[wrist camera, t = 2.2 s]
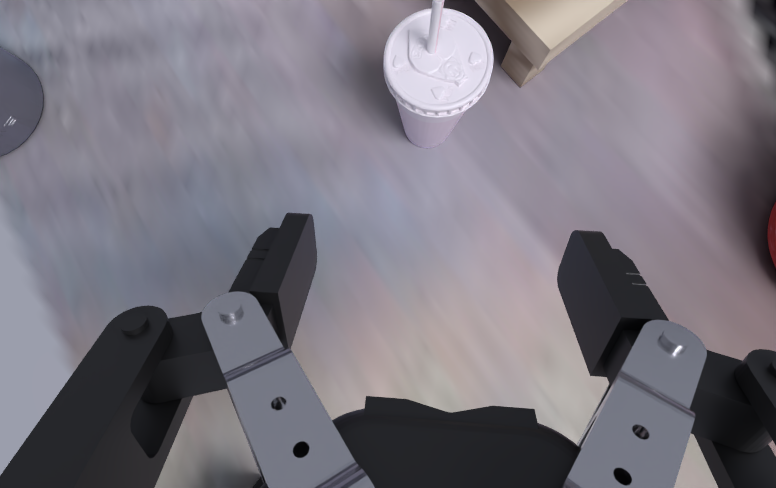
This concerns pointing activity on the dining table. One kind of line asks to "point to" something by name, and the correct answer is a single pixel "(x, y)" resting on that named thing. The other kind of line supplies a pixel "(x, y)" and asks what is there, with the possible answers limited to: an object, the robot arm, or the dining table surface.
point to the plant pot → (772, 234)
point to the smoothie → (436, 70)
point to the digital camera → (258, 483)
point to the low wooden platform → (542, 29)
